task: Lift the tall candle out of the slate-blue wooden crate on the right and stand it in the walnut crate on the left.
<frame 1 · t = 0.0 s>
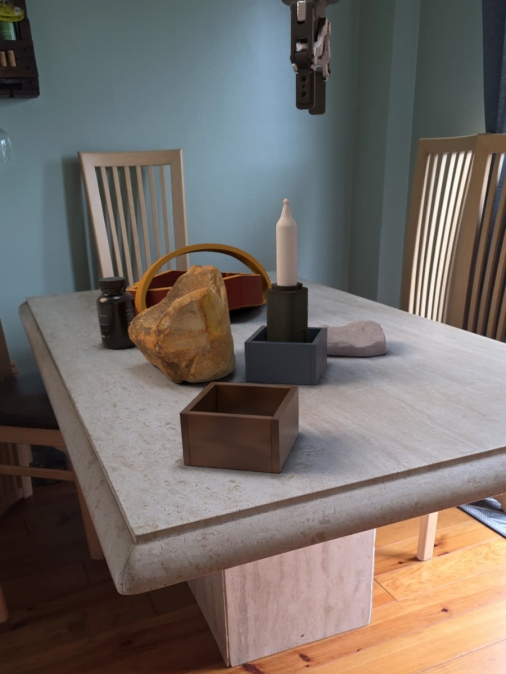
hand: (311, 112, 78), 35 cm above the table, tool pointing down, fingers open, 8 cm apart
crate left: (244, 448, 70), on the table
decorative basket: (206, 313, 139), on the table
supplement bottle: (120, 345, 115), on the table
rough brown rock: (184, 368, 100), on the table
crate right: (287, 372, 96), on the table
candle: (287, 373, 96), resting in crate right
stone block: (350, 351, 106), on the table
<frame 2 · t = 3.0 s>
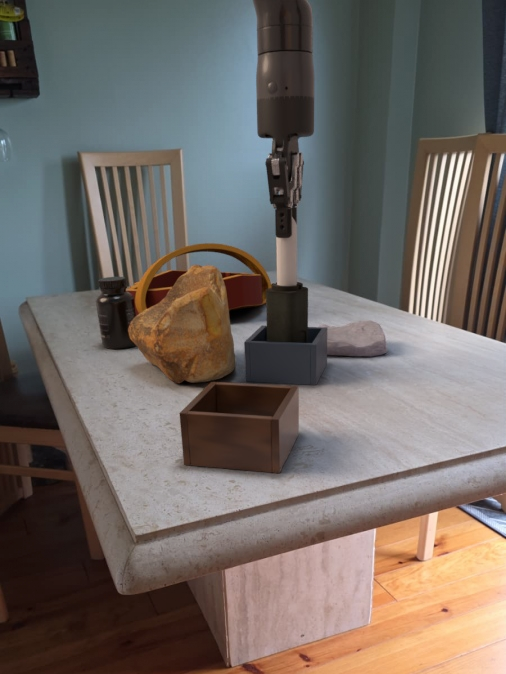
hand: (286, 235, 88), 20 cm above the table, tool pointing down, fingers closed on candle, 3 cm apart
candle: (287, 373, 96), resting in crate right, touching gripper
everything else where it was.
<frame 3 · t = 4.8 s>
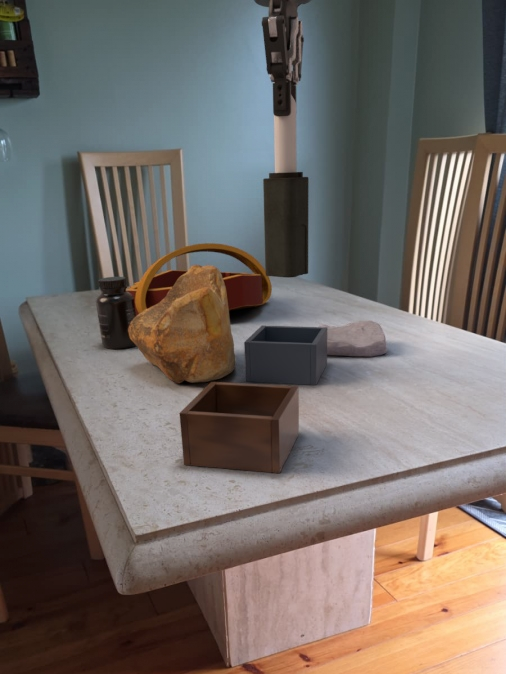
hand: (285, 116, 81), 35 cm above the table, tool pointing down, fingers closed on candle, 3 cm apart
candle: (286, 275, 90), point 15 cm above the table, touching gripper
everything else where it was.
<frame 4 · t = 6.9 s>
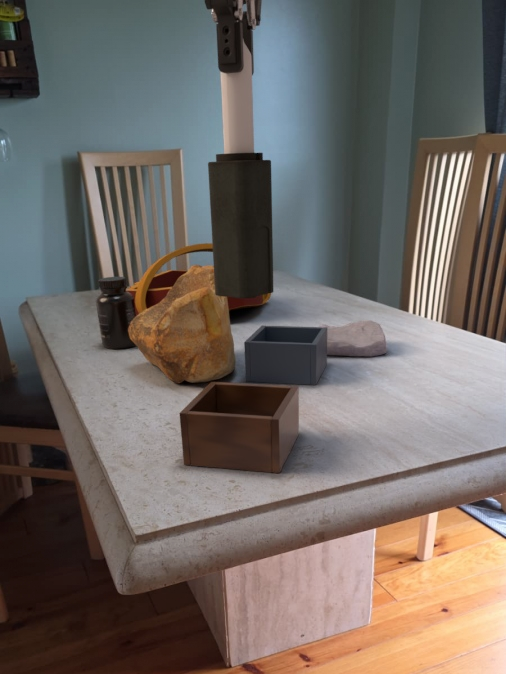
hand: (236, 73, 58), 37 cm above the table, tool pointing down, fingers closed on candle, 3 cm apart
candle: (244, 295, 66), point 17 cm above the table, touching gripper
everything else where it was.
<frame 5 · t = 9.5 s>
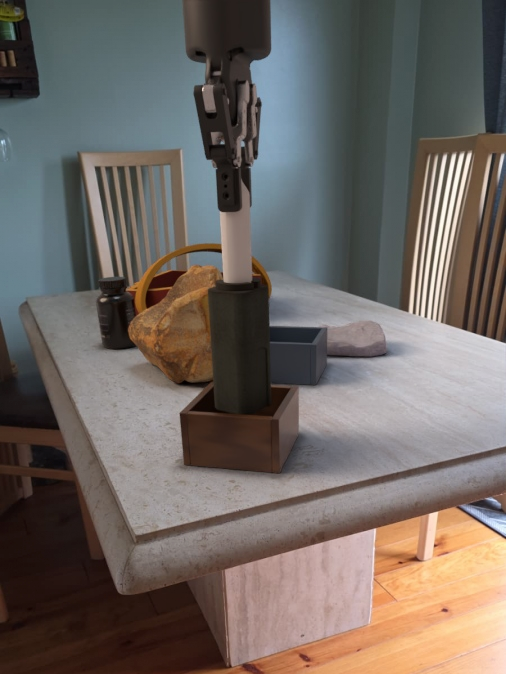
hand: (235, 209, 60), 25 cm above the table, tool pointing down, fingers closed on candle, 3 cm apart
candle: (243, 407, 68), point 5 cm above the table, touching gripper
everything else where it was.
when the fingers open (20 cm above the table, at t = 11.1 s): candle stays where it is, resting in crate left.
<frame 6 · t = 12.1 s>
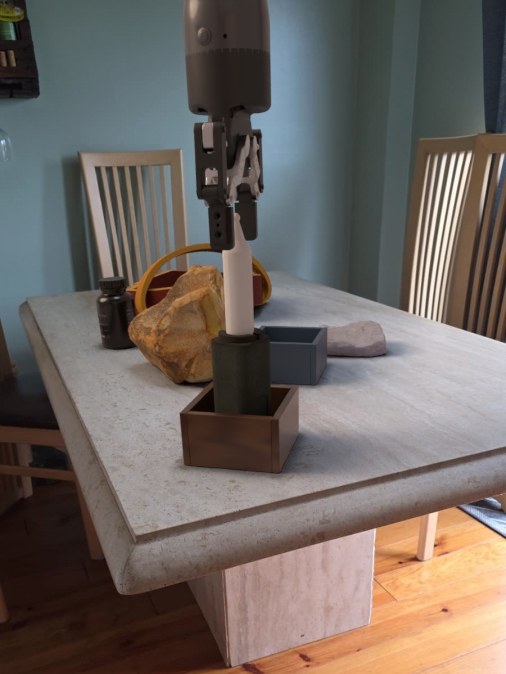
hand: (235, 244, 61), 22 cm above the table, tool pointing down, fingers open, 8 cm apart
candle: (244, 450, 70), resting in crate left
everything else where it was.
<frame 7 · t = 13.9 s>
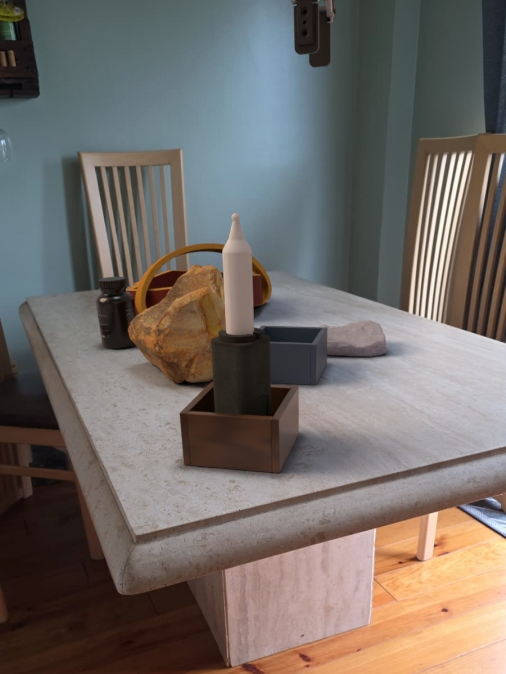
hand: (313, 60, 61), 38 cm above the table, tool pointing down, fingers open, 8 cm apart
nothing on the table moved.
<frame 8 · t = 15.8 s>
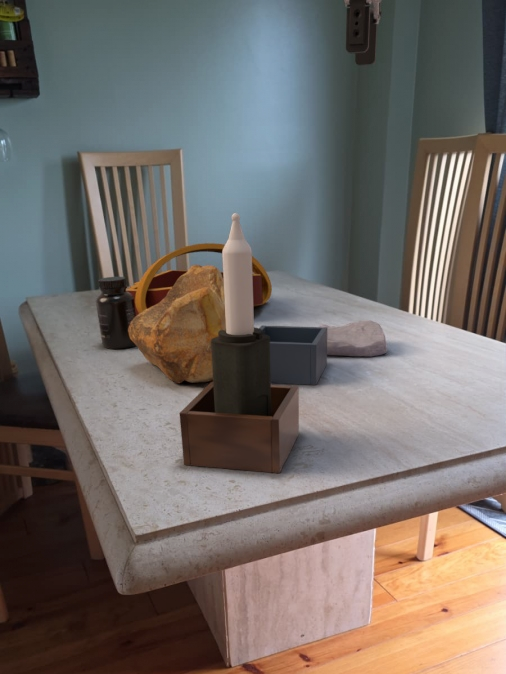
hand: (361, 59, 66), 39 cm above the table, tool pointing down, fingers open, 8 cm apart
nothing on the table moved.
at the end: candle 0.1 cm off-centre on the crate left, point 0.0 cm above the crate left's base; candle tilted 0°; the gripper is holding nothing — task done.
